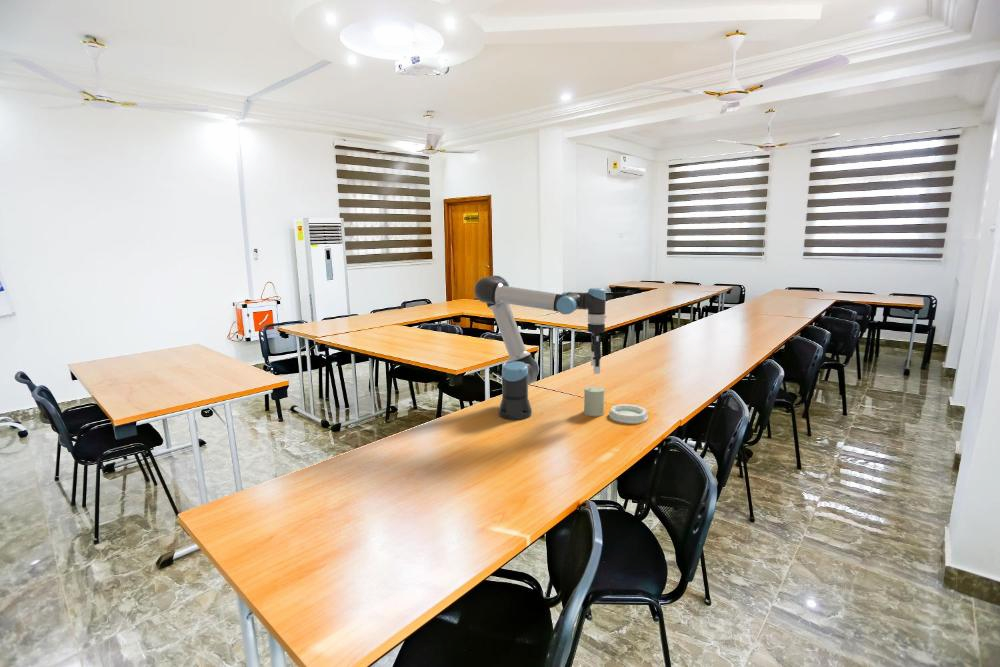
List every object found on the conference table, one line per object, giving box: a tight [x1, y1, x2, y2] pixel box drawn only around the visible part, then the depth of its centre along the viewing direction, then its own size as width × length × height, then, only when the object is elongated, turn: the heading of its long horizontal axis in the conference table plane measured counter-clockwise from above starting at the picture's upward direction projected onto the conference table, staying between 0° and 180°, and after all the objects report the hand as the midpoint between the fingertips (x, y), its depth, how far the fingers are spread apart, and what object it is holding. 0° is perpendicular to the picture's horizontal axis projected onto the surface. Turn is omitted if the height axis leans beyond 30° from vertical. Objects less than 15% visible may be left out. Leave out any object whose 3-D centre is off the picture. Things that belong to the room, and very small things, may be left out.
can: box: [583, 385, 605, 417], centre depth 227 cm, size 9×9×12 cm
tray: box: [608, 403, 649, 425], centre depth 222 cm, size 17×17×3 cm
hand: (595, 369), depth 224 cm, fingers open, 13 cm apart
